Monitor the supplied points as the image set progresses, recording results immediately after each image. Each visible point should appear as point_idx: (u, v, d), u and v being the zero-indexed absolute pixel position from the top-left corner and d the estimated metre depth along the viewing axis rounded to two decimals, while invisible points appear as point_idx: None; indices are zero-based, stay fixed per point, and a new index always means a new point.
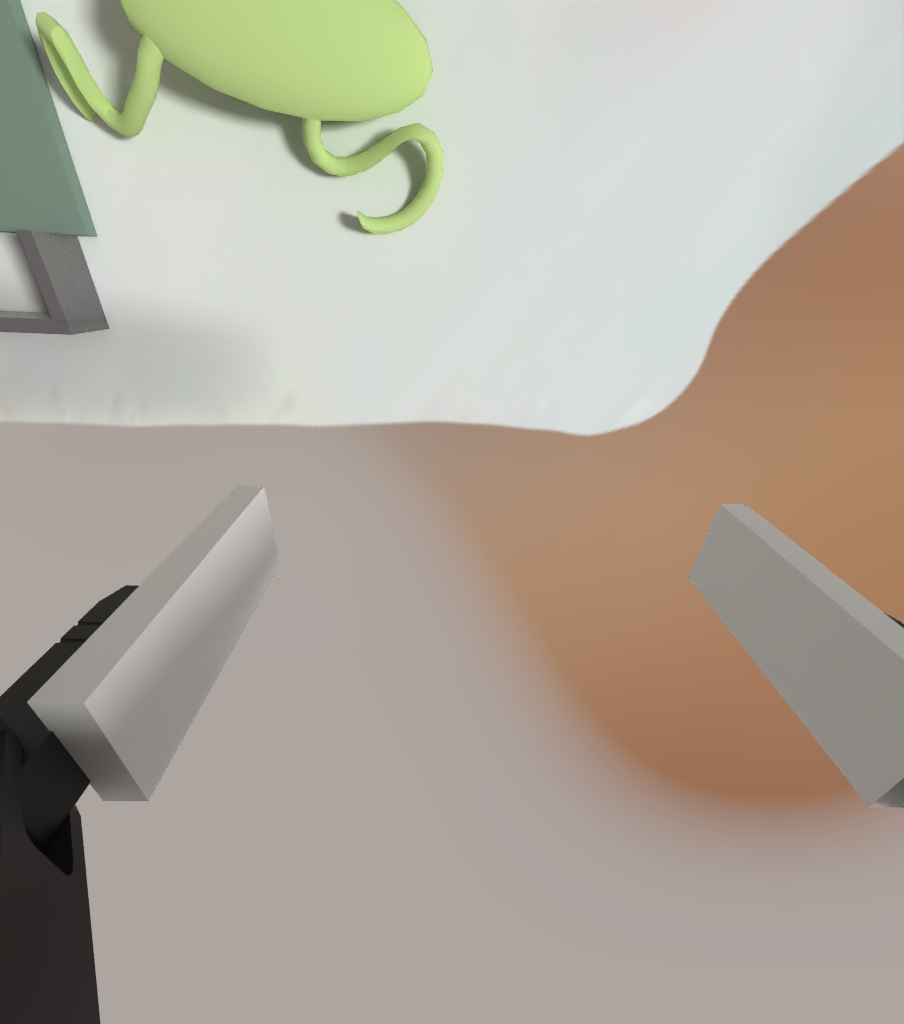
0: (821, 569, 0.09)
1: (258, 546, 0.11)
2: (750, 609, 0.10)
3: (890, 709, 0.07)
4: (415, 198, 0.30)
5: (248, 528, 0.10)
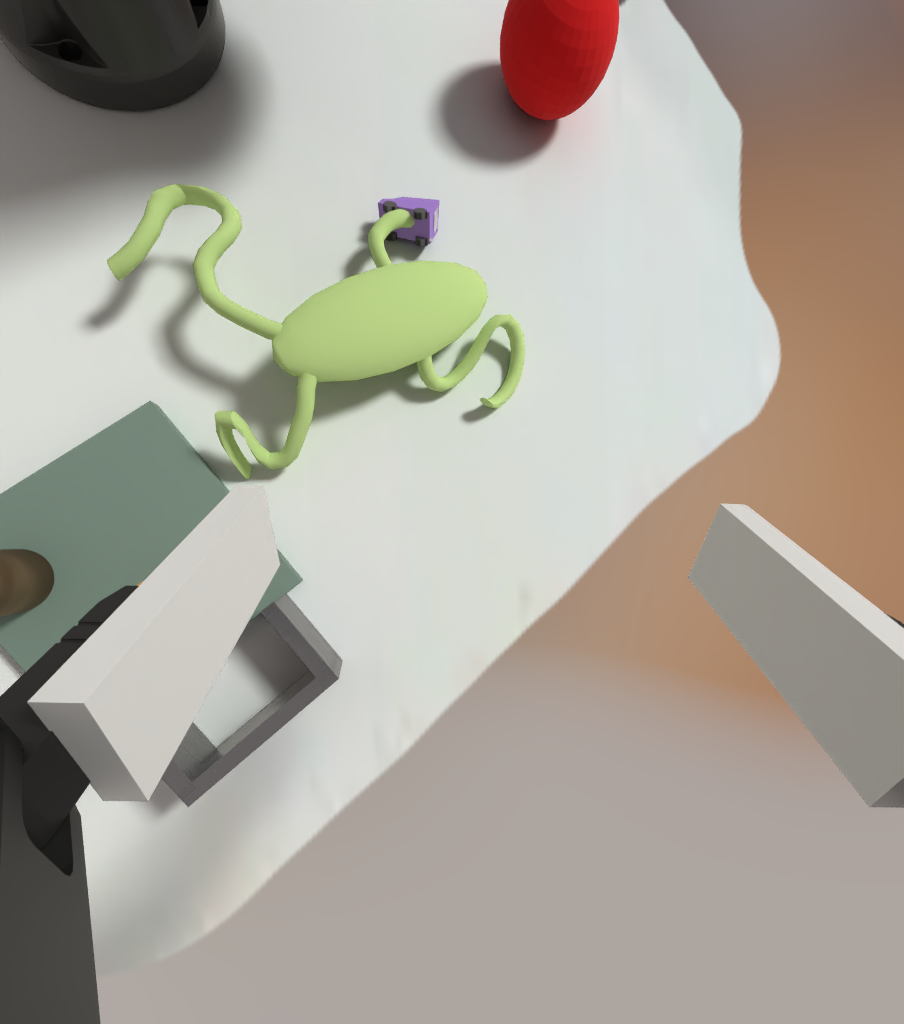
0: (821, 569, 0.09)
1: (258, 546, 0.11)
2: (750, 609, 0.10)
3: (890, 709, 0.07)
4: (511, 365, 0.34)
5: (248, 528, 0.10)
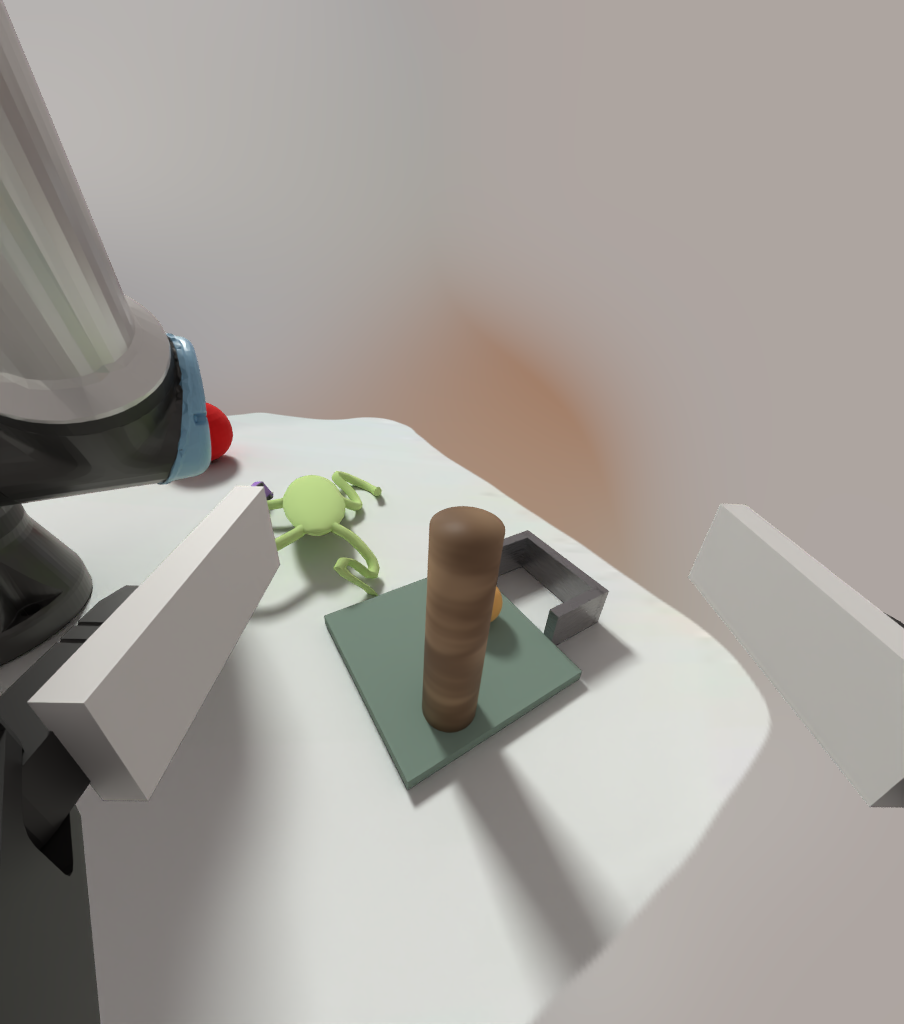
0: (821, 569, 0.09)
1: (258, 546, 0.11)
2: (751, 609, 0.10)
3: (890, 709, 0.07)
4: (360, 483, 0.58)
5: (248, 528, 0.10)
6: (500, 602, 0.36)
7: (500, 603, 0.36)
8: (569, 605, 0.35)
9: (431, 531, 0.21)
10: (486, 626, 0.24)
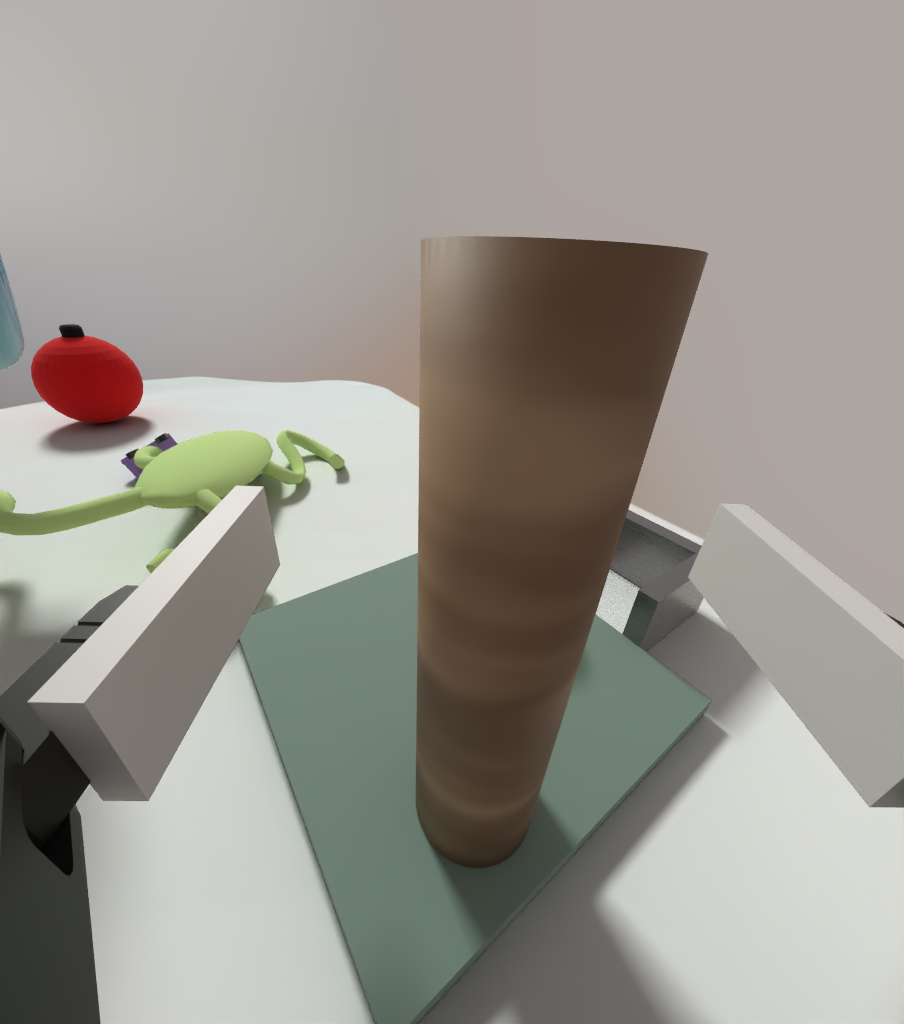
0: (821, 569, 0.09)
1: (258, 546, 0.11)
2: (750, 609, 0.10)
3: (890, 709, 0.07)
4: (319, 451, 0.40)
5: (248, 528, 0.10)
6: None
7: None
8: (669, 582, 0.20)
9: (430, 242, 0.05)
10: (594, 614, 0.08)
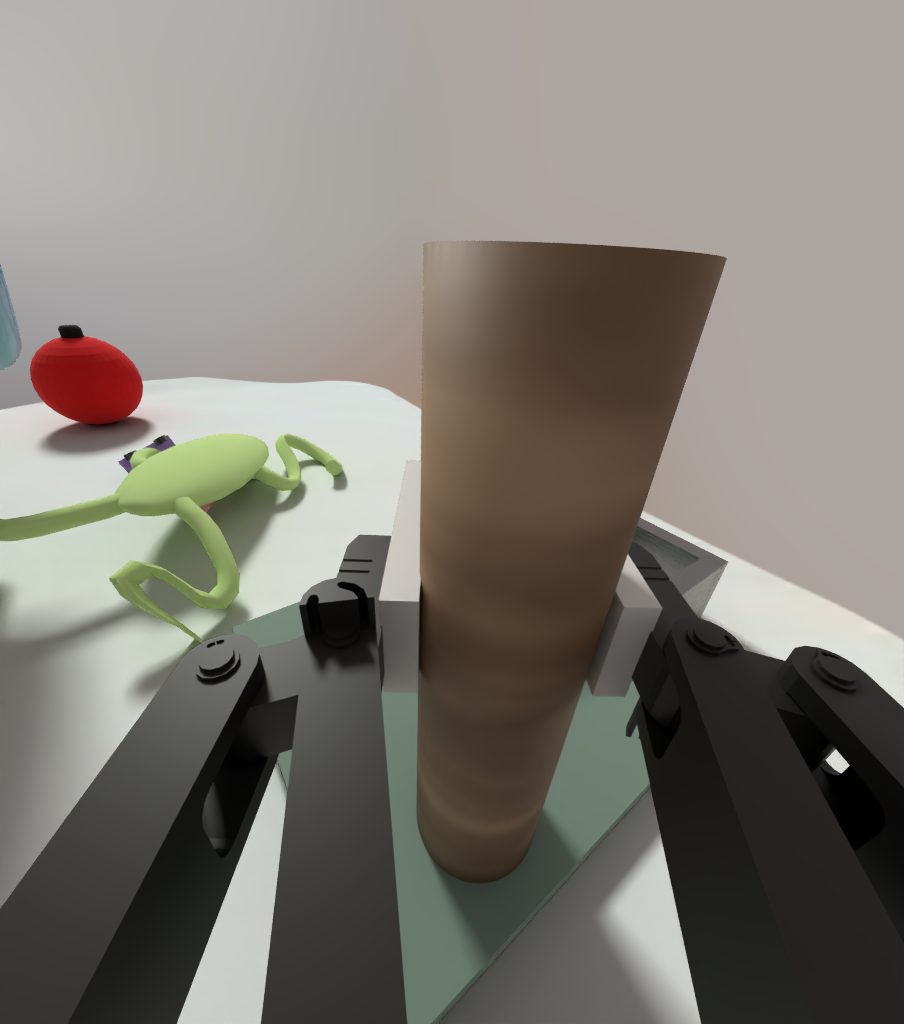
0: None
1: None
2: None
3: None
4: (319, 455, 0.39)
5: None
6: None
7: None
8: None
9: (432, 246, 0.05)
10: (601, 629, 0.08)
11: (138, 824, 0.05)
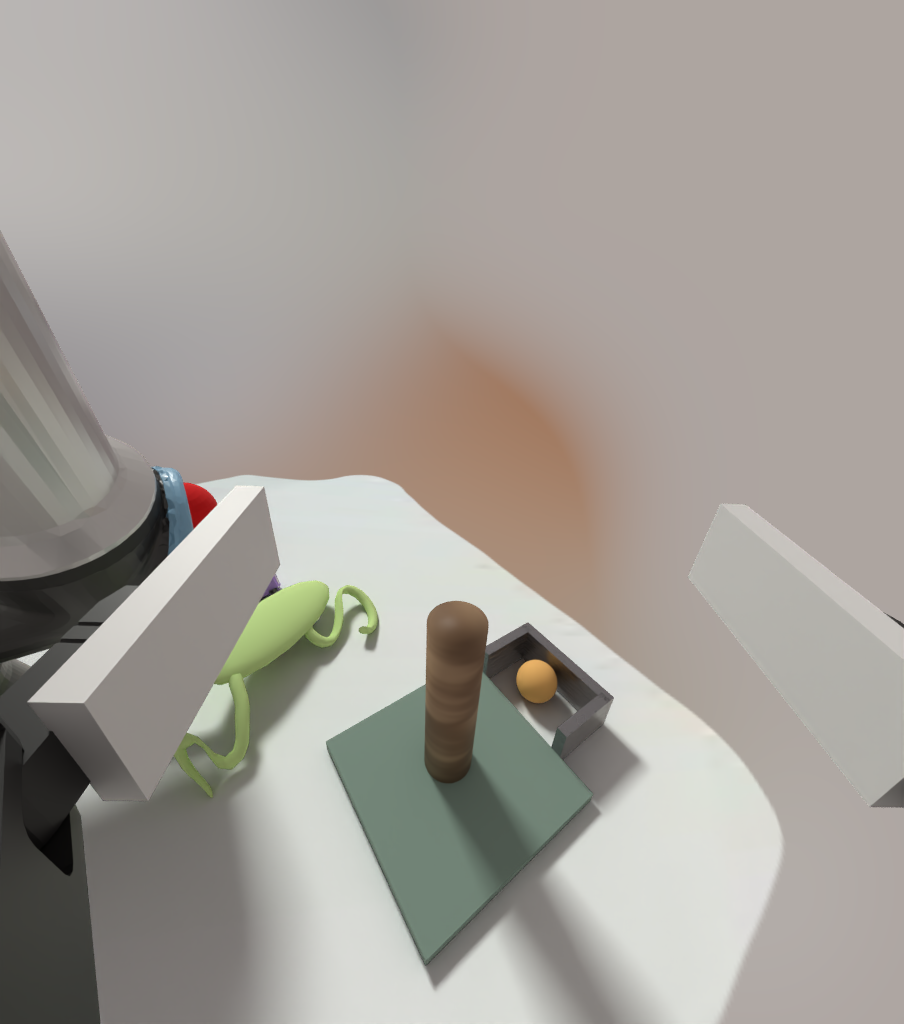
0: (821, 569, 0.09)
1: (258, 546, 0.11)
2: (750, 609, 0.10)
3: (890, 709, 0.07)
4: (366, 607, 0.50)
5: (248, 528, 0.10)
6: (541, 699, 0.39)
7: (541, 699, 0.39)
8: (576, 720, 0.35)
9: (428, 630, 0.26)
10: (476, 698, 0.29)
11: None
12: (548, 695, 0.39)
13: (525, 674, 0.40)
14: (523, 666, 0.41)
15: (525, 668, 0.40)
